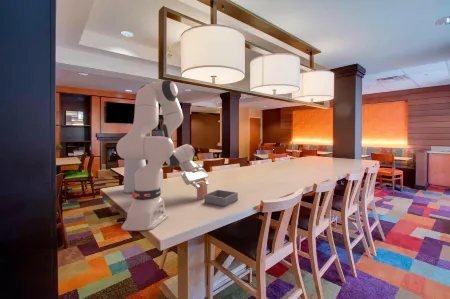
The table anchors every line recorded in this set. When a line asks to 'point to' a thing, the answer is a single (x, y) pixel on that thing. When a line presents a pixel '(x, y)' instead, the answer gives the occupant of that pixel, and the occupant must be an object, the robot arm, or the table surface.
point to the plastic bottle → (131, 173)
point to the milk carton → (161, 180)
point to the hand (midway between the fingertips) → (202, 186)
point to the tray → (221, 197)
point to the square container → (201, 190)
